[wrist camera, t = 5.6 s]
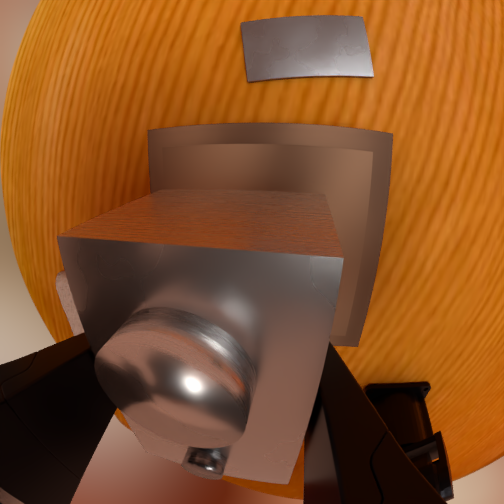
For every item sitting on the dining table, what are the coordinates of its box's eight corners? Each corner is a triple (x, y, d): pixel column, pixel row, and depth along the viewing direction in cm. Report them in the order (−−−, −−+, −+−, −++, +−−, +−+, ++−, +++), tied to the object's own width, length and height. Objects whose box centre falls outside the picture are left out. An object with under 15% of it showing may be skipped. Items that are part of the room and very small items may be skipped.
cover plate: (359, 22, 11) (362, 16, 10) (370, 79, 13) (373, 76, 12) (244, 28, 13) (240, 22, 12) (251, 84, 14) (247, 81, 13)
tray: (377, 134, 13) (394, 133, 10) (352, 318, 18) (358, 349, 15) (173, 130, 15) (145, 130, 13) (185, 301, 20) (167, 327, 17)
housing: (300, 390, 11) (283, 509, 6) (187, 372, 12) (135, 472, 7) (325, 194, 8) (353, 298, 3) (161, 189, 8) (19, 256, 3)
